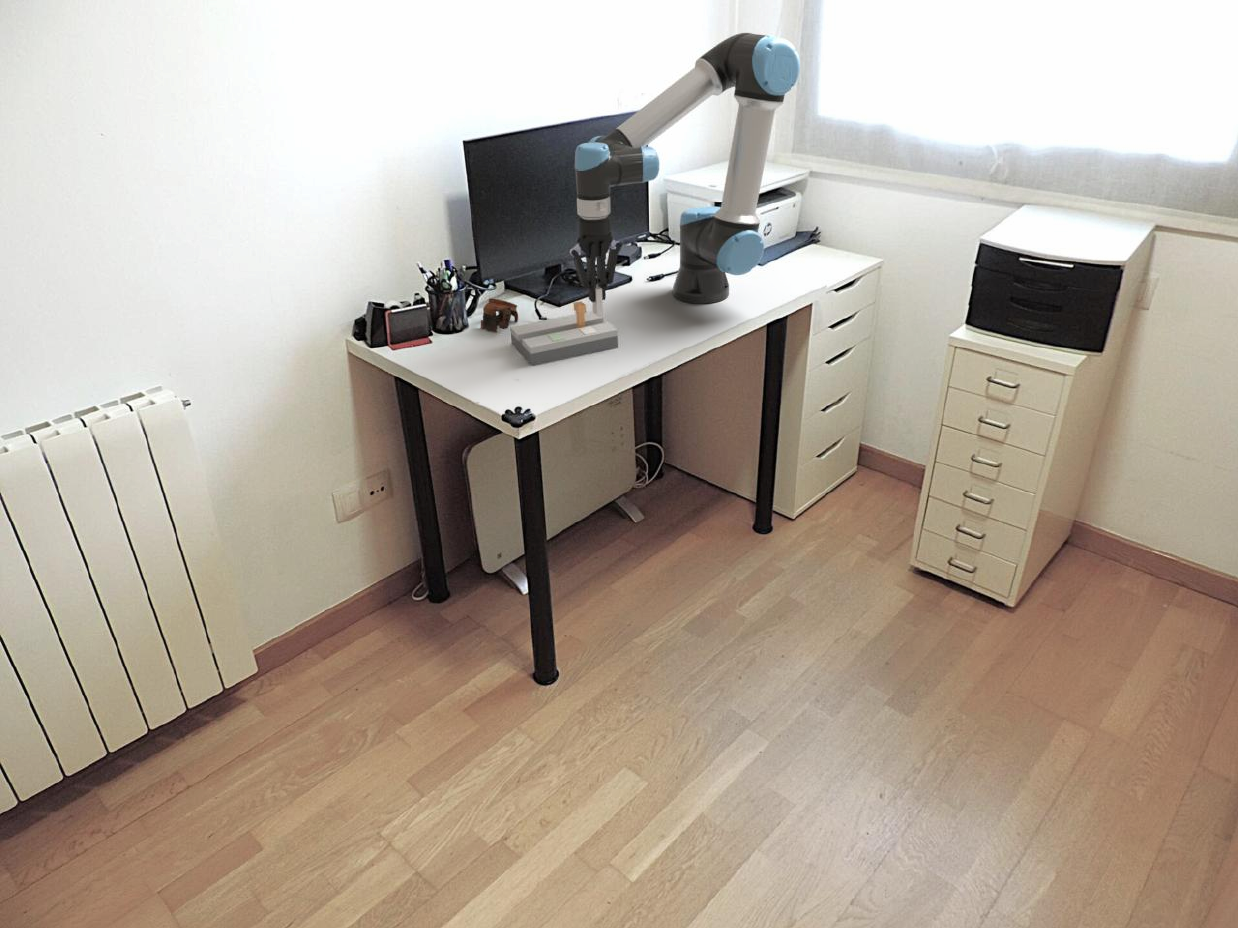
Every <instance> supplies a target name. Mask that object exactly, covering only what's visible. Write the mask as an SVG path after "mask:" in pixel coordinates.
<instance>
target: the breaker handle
mask: <svg viewBox="0 0 1238 928" xmlns="http://www.w3.org/2000/svg"><path fill="white" fill-rule="evenodd" d="M573 310H574V312H575V314H576V321H577V328H581V327H585V315H584V313H586V312H587V304H585V303H584V302H583V301H581V300H580V301H576V302H573Z"/></svg>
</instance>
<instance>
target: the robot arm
mask: <svg viewBox="0 0 1238 928" xmlns="http://www.w3.org/2000/svg"><path fill="white" fill-rule="evenodd" d="M800 66H801V63H800V56H799V54H798V51H797V50H796V48H795V46H794V45H793V44H792V43H791V42H790V41H789V40H787V39H784V38H781V37H779V36H775V35H765V34H757V33H752V32H741V33H737V34H734V35H732V36H730V37H728V38H726V39H724V40H722V41H721V42H719V43H717V44H716V45H714V47H712V48H711V49H709V50H708V51H706V52H705V53H704V54H702V55H701V56H700V57H699V58H697V59H696V61H695V63H694V67H693V68H692V69H690V70H689V71H688V72H687V73H685V74H684V75H682V76H681V77H680V78H679V79H678V80H676V81H675V82H674V83H673V84H671V85H670V86H669V87H667V88H666V89H665V90H664V91H662V92H661V93H660V94H659V95H657V96H656V97H654V99H652V100H651V101H649V102H648V103H647V104H646V105H644V106H643V107H641V108H640V109H639V110H638V111H637V112H635V113H634V114H633V115H631V116H630V117H629V118H628V119H626V120H625V121H624V122H623V123H621V124H619V126H617V127H616V128H615V129H614V130H612V131H610V132H609V133H608V134H606V135H597V136H594V137H592V138H590V140H589V141H588V142H585V143H581V144H579V145H577V146H576V149H575V154H574V155H575V156H574V171H575V184H576V185H575V186H576V210H577V213H576V214H577V215H578V217H577V227H578V228H577V231H578V238H577V240H576V243H577V244H575V245H574V247H569V248H568V253H569V254H570V256H571V257H572V260H573V264H574V266H575V270H576V273H577V274H576V275H577V277H578V280H579V284H580V286H582V287H583V288H585V289H588V290H587V291H588V300H589V301H590V302H591V303H592V311H593V313H594V314H596V315H597V316H599V315H600V316H604V310H603V309H604V304H603V301H604V300H605V301H606V298H607V296H606V295H607V294H606V290H607V288H608V285H611V284H613V283H614V277H615V273H616V267H617V262H618V259H619V258H618V256H619V252H620V251H621V249H622V247H623V243H621V242H619V241H618V240H616V239H614V236H613V235H612V219H611V218H612V216H611V215H610V214H611V188H612V187H618V186H624V185H625V186H626V185H631V184H643V183H646V182H650V181H654V180H655V179H656V178H657V177H658V175H659V172H660V159H659V155H658V153H657V151H656V149H655V148H654V147H652V146H649V144H651V143H652V142H653V141H655V140H656V139H657V138H658V137H661V135H662V134H664V133H666V131H667V130H669V129H670V128H672V127H673V126H674V125H675V124H677V123H678V122H679V121H681V120H682V119H683V118H685V117H686V116H687V115H688V114H689V113H691V112H692V111H693V110H695V109H696V108H697V107H699V106H700V105H701V104H702V103H704V102H705V101H706V100H707V99H710V98H711V96H721V94H723V93H724V92H725V91H727V90H729V89H732V88H734V93H733V97H734V99H735V101H736V102H737V104H738V106H737V109H738V110H737V114H736V119H735V126H734V131H733V137H732V142H731V149H730V155H729V160H728V166H727V171H726V176H725V183H724V189H723V195H722V198H721V200H722V201H721V205H720V206H701V207H700V206H699V207H698V206H697V207H693V208H689V209H686V210H684V211H682V213H681V214H680V220H679V229H680V230H679V268H678V271H677V274H676V277H675V280H674V283H673V288H672V289H673V293H672V295H673V296H674V297H675V298H676V299H677V300H679V301H682V302H685V303H690V304H711V303H718V302H721V301H723V300H726V299H727V298H728V297H729V295H730V284H729V281H728V277H727V274H729V275H732V276H742V275H746V274H748V273H750V272H751V271H752V270H753V269H754V268H756V267H757V266H758V264H760V262H761V259H762V258H763V255H764V252H765V243H764V240H763V239H762V236H761V235H760V233H759V228H760V224H761V223H760V222H761V220H760V218H759V216H758V215H757V214H756V211H757V208H758V207H757V206H758V201H759V197H760V190H761V187H762V181H763V175H764V170H765V164H766V160H767V156H768V155H767V154H768V150H769V149H768V148H769V143H770V138H771V134H772V129H773V128H772V127H773V125H774V124H773V123H774V118H775V113H776V112H775V111H777V109H779V107H780V106H782V105H783V104H784V100H785V97H786V94H787V93H789V92H790V91H791V90H792V87H794V86H795V85H796V83H797V81H798V79H799V76H800V69H801V67H800ZM608 250H609V251H608ZM582 252H583V253H584V254H585V256H584V257H585V260H586V270H585V267H584V262H583V260H582V256H581V254H582ZM607 252H608V256H607ZM606 260H607V261H606Z"/></svg>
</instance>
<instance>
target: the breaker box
mask: <svg viewBox="0 0 1238 928" xmlns="http://www.w3.org/2000/svg"><path fill="white" fill-rule="evenodd" d="M584 315H585V327H581V328H577V321H576V313H574V314H570V315H569V314H568V315H565V316H559V317H555V318H549V319H545V320H540V321H539V320H538V321H534V322H530V323H529V322H528V323H525V324H523V323H522V324H520V325H514V326H510V327H509V329H510V331H509V332H510V337H511V338H510V339H511V346H513V347H514V348H515V350H516V351H517V352H518V353H519V354H520V355H521V356H522V357H523V358H524V359H525V360H526V362H528V364H530V365H531V366H532V367H533V366H537V365H542V364H546V363H551V362H552V363H553V362H556V361H561V360H564V359H570V358H575V357H579V356H585V355H589V354H593V353H598V352H602V351H607V350H611V349H616V348H619V334H618V333H619V331H618V329H617V328H616V327H615V326H614V325H613V324H612V323H610V322H608V321H606V322H604V317H602V315H599V316H597V315H596V314H594V313H593V310H589V311H586V313H584Z"/></svg>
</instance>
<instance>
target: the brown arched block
mask: <svg viewBox="0 0 1238 928" xmlns="http://www.w3.org/2000/svg"><path fill="white" fill-rule="evenodd" d="M517 308H518V305H517V304H514V302H513V303H512V302H509V301H506V300H503V299H499V298H498V299H497V298H492V297H491V298H490V297H489V298H488V302H487V303H486V304H484V306H483V308H482V309H483V310H482V311H483V313H482V319H481V320H480V329H481V330H485V331H488V332H491V333H496V334H497V333H498V329H499V328H500V329H501V330H506V329H508V328H509V326H510V322H511V318H512V317H513V318H514V319H513V320H514V323H518V322H519V312H518V311H517ZM497 312H498V314H497Z"/></svg>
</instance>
